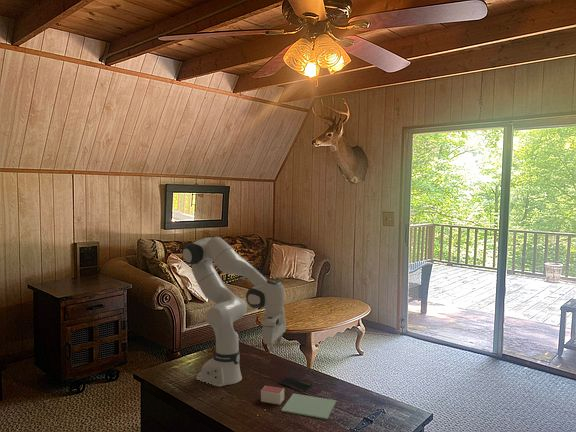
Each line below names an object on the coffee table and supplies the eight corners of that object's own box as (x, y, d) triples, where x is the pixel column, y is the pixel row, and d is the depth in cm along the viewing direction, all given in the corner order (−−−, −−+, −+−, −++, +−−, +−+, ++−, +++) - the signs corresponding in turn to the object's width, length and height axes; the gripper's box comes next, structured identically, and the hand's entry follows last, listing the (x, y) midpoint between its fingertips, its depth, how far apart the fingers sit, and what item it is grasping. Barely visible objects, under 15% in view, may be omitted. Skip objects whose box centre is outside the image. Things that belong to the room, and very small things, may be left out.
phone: (288, 376, 214) (313, 384, 206) (288, 379, 214) (313, 387, 206) (278, 382, 208) (304, 390, 199) (278, 384, 208) (304, 393, 199)
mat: (281, 411, 182) (281, 409, 182) (293, 394, 197) (293, 393, 197) (327, 419, 175) (327, 418, 175) (336, 401, 190) (336, 400, 190)
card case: (260, 401, 190) (260, 390, 190) (265, 396, 196) (265, 385, 195) (280, 405, 187) (280, 393, 187) (284, 399, 193) (284, 388, 192)
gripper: (276, 310, 202) (276, 339, 203) (259, 322, 183) (260, 354, 183) (289, 311, 200) (289, 340, 201) (273, 323, 181) (274, 356, 181)
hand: (275, 347), depth 192 cm, fingers open, 8 cm apart
